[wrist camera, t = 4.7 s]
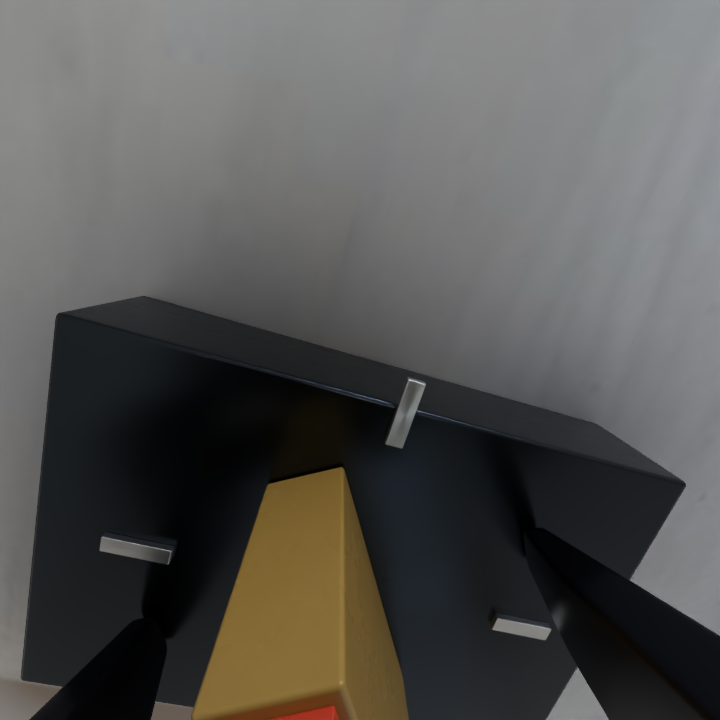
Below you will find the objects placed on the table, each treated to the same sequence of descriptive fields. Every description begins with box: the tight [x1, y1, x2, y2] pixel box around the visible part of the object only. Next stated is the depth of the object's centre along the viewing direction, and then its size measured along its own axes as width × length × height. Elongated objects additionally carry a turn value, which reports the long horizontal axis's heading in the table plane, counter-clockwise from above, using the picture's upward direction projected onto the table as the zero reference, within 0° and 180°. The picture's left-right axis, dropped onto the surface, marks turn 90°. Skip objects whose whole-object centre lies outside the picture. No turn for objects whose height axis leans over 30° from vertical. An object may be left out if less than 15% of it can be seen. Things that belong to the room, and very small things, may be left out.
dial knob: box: [191, 467, 409, 720], centre depth 6 cm, size 6×2×4 cm, turn 13°
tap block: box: [21, 296, 686, 720], centre depth 10 cm, size 13×10×3 cm
